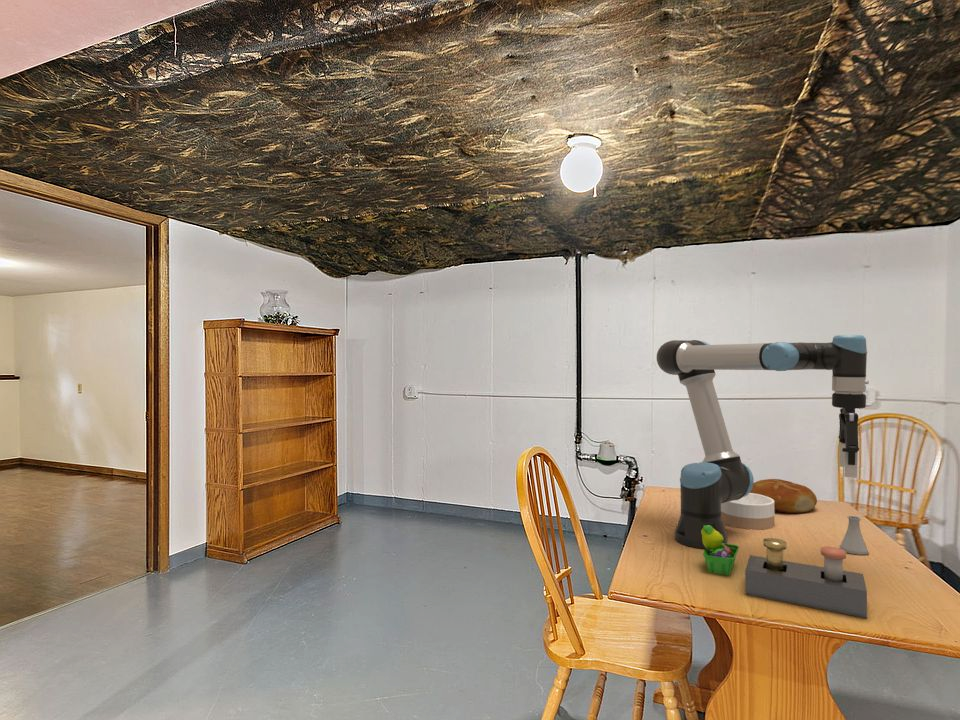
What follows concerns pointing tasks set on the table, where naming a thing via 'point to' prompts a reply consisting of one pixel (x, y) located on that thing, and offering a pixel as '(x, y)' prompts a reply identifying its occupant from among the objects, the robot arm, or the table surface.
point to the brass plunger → (775, 553)
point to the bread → (786, 495)
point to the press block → (807, 587)
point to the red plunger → (833, 563)
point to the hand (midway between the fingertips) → (847, 471)
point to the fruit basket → (717, 551)
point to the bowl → (749, 512)
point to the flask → (854, 538)
